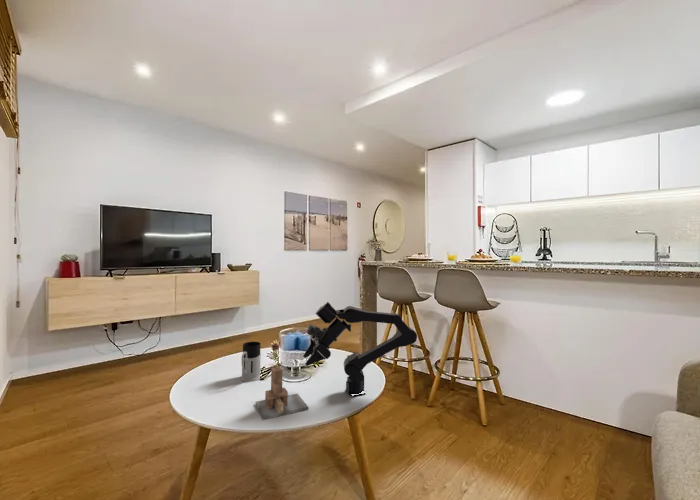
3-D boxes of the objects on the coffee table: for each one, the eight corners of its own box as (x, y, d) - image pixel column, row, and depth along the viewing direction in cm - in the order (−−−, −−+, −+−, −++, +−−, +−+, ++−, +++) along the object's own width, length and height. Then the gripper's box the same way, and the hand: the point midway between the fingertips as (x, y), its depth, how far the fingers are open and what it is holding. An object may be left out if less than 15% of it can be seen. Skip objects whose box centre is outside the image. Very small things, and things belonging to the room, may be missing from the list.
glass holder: (264, 374, 149) (264, 341, 149) (251, 387, 135) (252, 351, 135) (245, 373, 150) (246, 340, 150) (231, 386, 136) (232, 350, 136)
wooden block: (284, 400, 121) (284, 365, 121) (287, 405, 118) (288, 369, 118) (265, 404, 118) (265, 368, 118) (267, 409, 115) (268, 372, 115)
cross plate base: (297, 396, 128) (297, 385, 128) (308, 409, 117) (308, 398, 117) (255, 404, 120) (255, 393, 120) (263, 419, 110) (263, 407, 110)
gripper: (316, 313, 139) (289, 340, 136) (322, 322, 121) (291, 354, 118) (334, 331, 141) (308, 358, 138) (343, 343, 122) (313, 374, 120)
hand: (304, 360), depth 129 cm, fingers open, 9 cm apart
